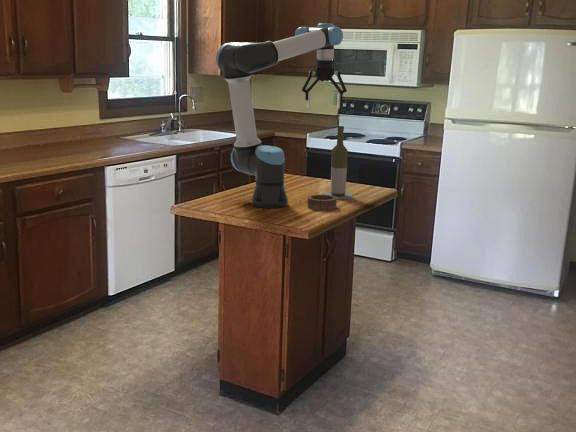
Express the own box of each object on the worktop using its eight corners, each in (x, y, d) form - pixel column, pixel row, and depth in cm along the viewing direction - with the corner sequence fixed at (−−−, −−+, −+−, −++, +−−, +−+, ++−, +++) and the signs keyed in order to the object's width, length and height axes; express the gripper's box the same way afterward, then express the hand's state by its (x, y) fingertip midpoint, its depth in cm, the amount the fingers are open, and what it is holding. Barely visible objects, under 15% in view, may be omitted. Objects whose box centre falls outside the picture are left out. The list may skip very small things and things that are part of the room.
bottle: (348, 196, 279) (351, 127, 271) (333, 197, 276) (336, 127, 269) (342, 193, 285) (344, 125, 278) (327, 193, 283) (329, 125, 275)
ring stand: (309, 210, 255) (309, 200, 254) (306, 203, 266) (306, 194, 265) (337, 210, 256) (338, 200, 255) (333, 203, 267) (333, 194, 266)
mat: (326, 199, 275) (326, 198, 274) (322, 193, 286) (322, 192, 286) (354, 199, 276) (354, 198, 275) (349, 193, 287) (349, 192, 287)
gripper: (351, 60, 289) (349, 107, 295) (296, 59, 287) (295, 107, 292) (354, 60, 282) (352, 109, 287) (298, 59, 280) (296, 108, 285)
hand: (323, 108), depth 290 cm, fingers open, 13 cm apart
